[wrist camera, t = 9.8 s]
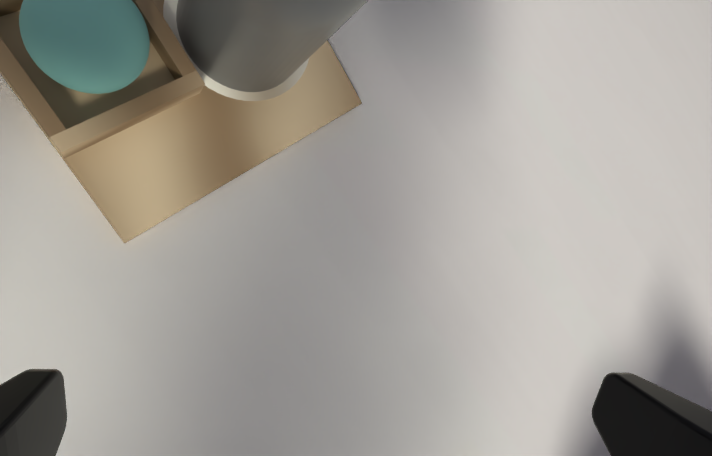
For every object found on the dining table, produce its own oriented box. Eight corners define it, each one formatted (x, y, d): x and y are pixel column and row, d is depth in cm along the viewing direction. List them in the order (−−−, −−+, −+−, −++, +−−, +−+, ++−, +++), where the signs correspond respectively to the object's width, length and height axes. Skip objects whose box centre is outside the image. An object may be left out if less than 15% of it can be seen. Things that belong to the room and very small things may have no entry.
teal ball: (72, 124, 14) (62, 92, 11) (4, 27, 14) (-25, -32, 11) (165, 81, 16) (178, 44, 13) (107, -9, 15) (106, -70, 12)
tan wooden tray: (124, 243, 15) (125, 242, 14) (-42, 15, 13) (-59, -11, 12) (356, 106, 20) (373, 96, 18) (254, -79, 18) (265, -106, 16)
